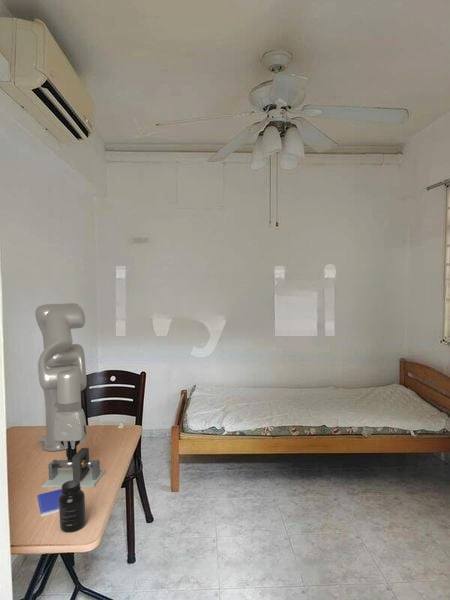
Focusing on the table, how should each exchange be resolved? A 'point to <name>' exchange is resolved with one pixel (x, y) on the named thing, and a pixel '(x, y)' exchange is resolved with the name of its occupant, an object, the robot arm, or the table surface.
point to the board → (68, 476)
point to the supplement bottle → (72, 507)
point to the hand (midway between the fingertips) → (71, 458)
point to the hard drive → (49, 502)
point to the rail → (68, 464)
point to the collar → (80, 464)
